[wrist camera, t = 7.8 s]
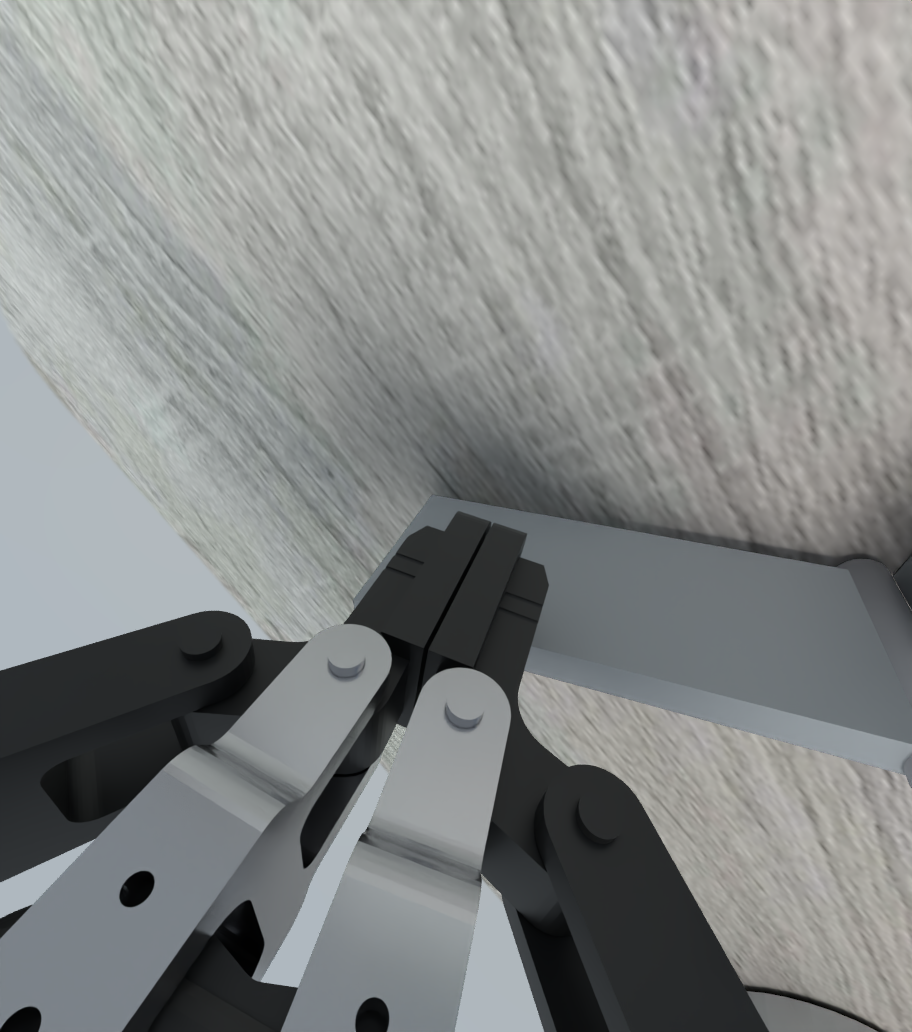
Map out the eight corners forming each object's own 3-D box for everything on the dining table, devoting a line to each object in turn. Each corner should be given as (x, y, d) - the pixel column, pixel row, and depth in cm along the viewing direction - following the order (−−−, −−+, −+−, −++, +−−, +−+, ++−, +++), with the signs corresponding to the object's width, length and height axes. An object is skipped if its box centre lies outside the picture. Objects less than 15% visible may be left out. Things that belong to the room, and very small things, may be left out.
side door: (900, 564, 12) (1025, 774, 8) (876, 602, 12) (980, 813, 8) (435, 484, 15) (347, 599, 11) (437, 516, 16) (354, 636, 12)
